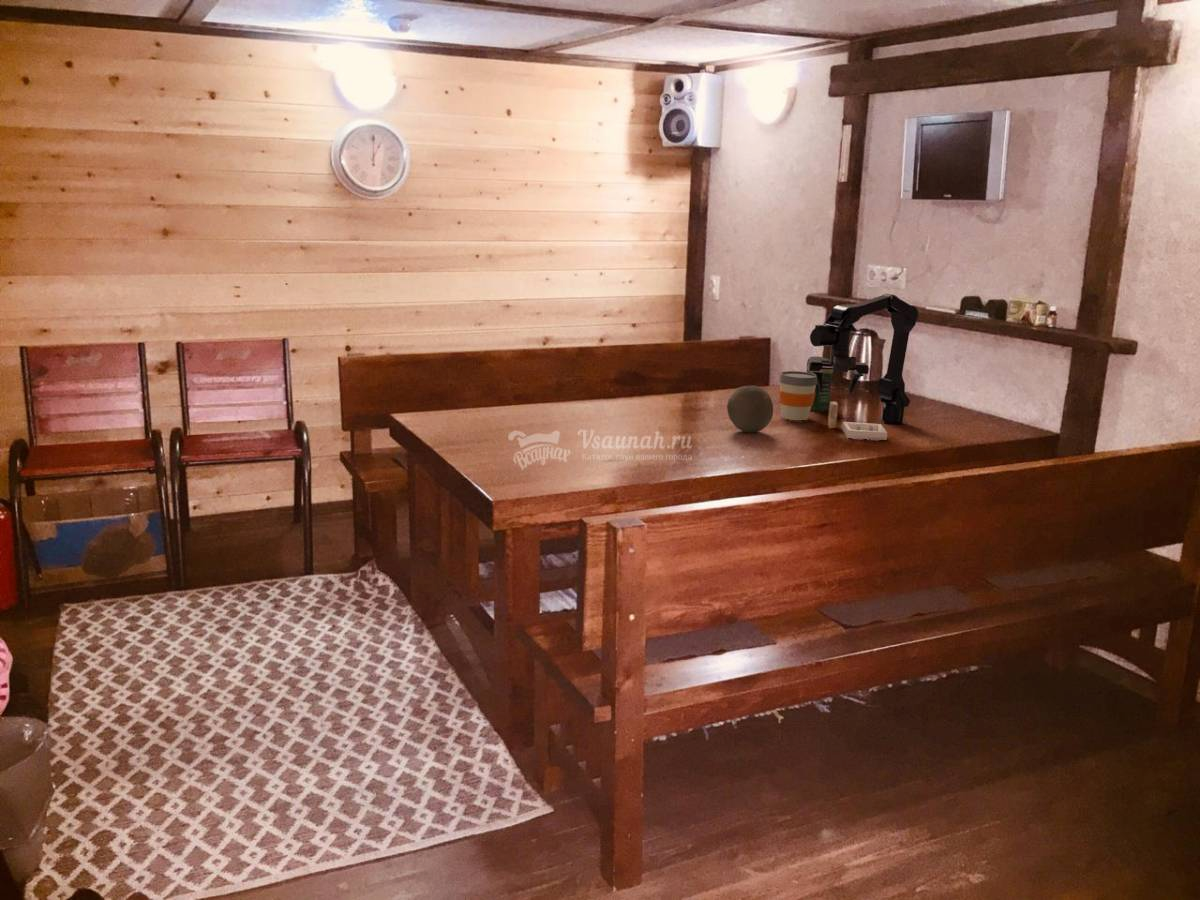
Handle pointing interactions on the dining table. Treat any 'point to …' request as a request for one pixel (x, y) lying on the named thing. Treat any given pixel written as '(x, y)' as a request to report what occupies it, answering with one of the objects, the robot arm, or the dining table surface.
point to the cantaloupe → (750, 408)
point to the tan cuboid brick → (832, 414)
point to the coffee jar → (823, 397)
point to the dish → (864, 431)
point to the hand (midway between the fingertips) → (835, 393)
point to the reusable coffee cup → (796, 394)
